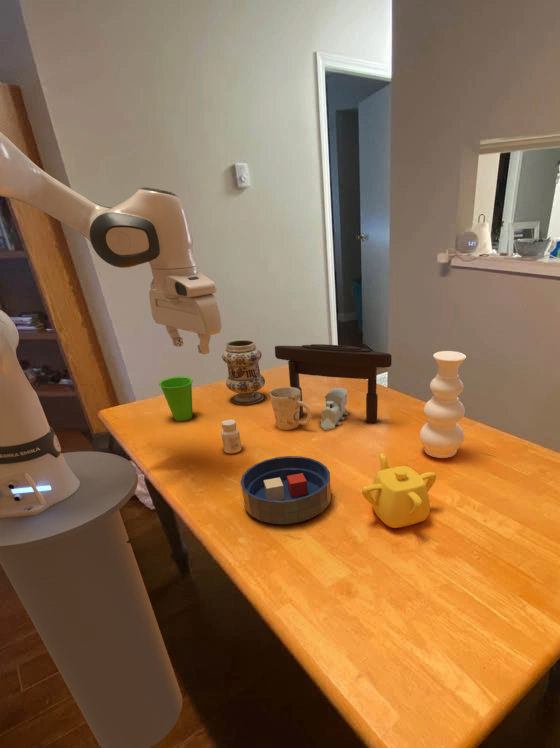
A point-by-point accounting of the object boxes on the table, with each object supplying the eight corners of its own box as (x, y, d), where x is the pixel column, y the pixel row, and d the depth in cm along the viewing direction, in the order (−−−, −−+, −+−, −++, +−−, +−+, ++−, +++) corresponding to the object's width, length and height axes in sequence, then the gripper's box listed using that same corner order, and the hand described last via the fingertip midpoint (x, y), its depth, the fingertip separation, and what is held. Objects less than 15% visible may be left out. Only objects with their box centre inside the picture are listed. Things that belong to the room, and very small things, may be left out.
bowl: (252, 535, 88) (248, 510, 85) (239, 487, 103) (235, 464, 99) (342, 516, 93) (341, 491, 90) (317, 472, 108) (316, 450, 105)
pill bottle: (244, 447, 119) (240, 419, 115) (237, 454, 116) (232, 426, 112) (229, 445, 120) (224, 417, 116) (221, 453, 117) (216, 425, 112)
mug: (284, 417, 135) (281, 384, 130) (321, 425, 131) (319, 391, 125) (267, 428, 129) (263, 394, 124) (305, 437, 124) (303, 402, 119)
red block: (291, 497, 98) (290, 484, 96) (288, 489, 100) (286, 475, 99) (307, 494, 99) (306, 480, 97) (303, 486, 101) (302, 472, 100)
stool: (385, 359, 113) (261, 350, 120) (383, 437, 124) (270, 424, 131) (397, 343, 126) (284, 335, 133) (394, 414, 137) (290, 404, 144)
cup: (160, 419, 134) (151, 383, 129) (186, 409, 141) (179, 374, 135) (180, 426, 130) (171, 389, 124) (206, 415, 136) (199, 380, 131)
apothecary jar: (268, 391, 153) (262, 337, 144) (264, 405, 143) (257, 347, 133) (232, 392, 153) (223, 337, 143) (225, 406, 142) (215, 348, 133)
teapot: (352, 521, 92) (351, 477, 86) (378, 490, 102) (379, 448, 96) (417, 540, 87) (421, 495, 81) (438, 505, 96) (443, 462, 91)
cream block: (268, 502, 96) (266, 488, 94) (265, 494, 99) (263, 480, 97) (284, 499, 97) (283, 485, 95) (281, 490, 100) (279, 477, 98)
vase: (430, 466, 111) (439, 363, 98) (411, 446, 119) (417, 350, 106) (470, 458, 114) (484, 358, 101) (449, 440, 122) (459, 345, 109)
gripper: (135, 279, 97) (152, 345, 105) (193, 289, 87) (207, 361, 94) (162, 275, 101) (176, 339, 109) (221, 284, 91) (232, 354, 98)
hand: (191, 349), depth 101 cm, fingers open, 8 cm apart
